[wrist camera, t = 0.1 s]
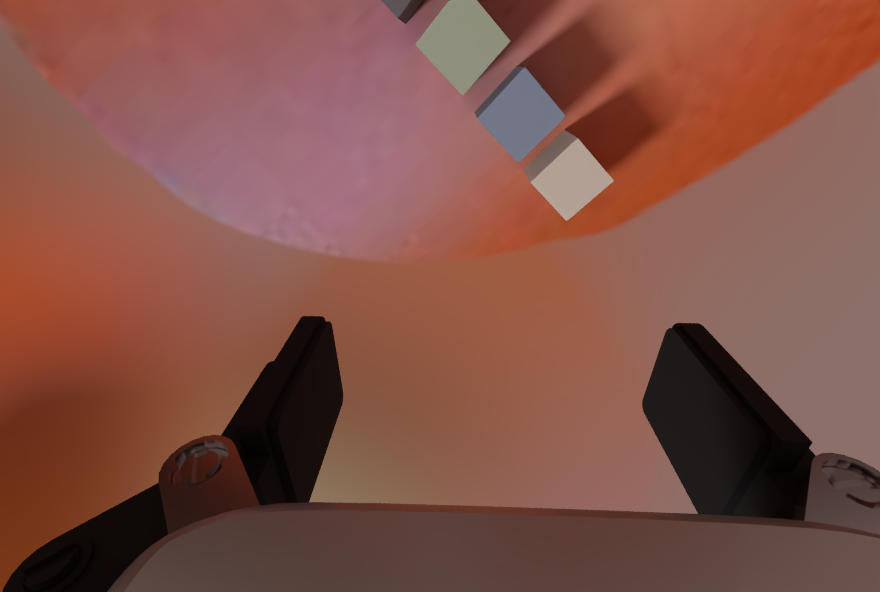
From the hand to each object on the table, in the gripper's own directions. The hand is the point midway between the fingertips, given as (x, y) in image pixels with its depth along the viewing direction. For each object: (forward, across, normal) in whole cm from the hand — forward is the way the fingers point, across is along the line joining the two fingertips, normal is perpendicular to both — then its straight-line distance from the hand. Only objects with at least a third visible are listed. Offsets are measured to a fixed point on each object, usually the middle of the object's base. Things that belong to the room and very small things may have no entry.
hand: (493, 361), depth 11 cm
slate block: (+31, -4, -4) cm, 32 cm away
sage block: (+31, +1, -9) cm, 32 cm away
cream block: (+31, -9, +1) cm, 32 cm away
